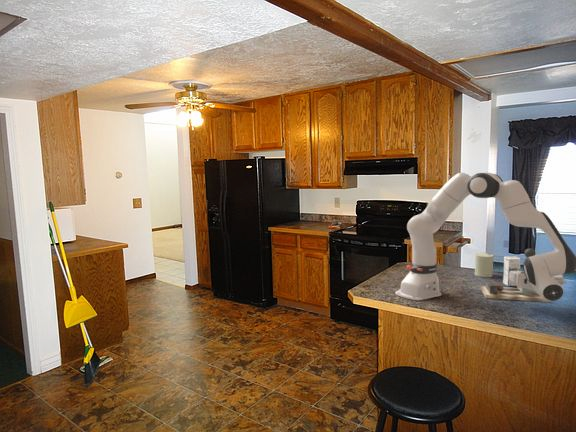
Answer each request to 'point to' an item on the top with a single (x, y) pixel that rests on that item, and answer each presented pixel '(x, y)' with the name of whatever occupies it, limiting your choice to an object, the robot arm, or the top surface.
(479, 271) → the can
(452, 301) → the top surface
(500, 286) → the press frame
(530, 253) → the press handle
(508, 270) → the syrup box
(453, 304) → the top surface
